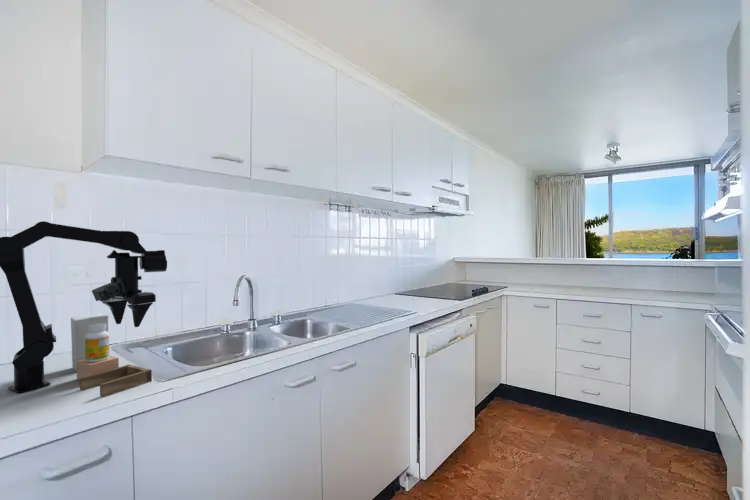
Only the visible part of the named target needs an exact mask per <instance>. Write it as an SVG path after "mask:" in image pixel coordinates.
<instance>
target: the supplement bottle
mask: <svg viewBox="0 0 750 500" xmlns="http://www.w3.org/2000/svg"><path fill="white" fill-rule="evenodd" d="M105 329H106V324H93V325H89V326H88V331H89V333H88V334H86V336H85V360H86V362H98V361H103V360H106V359H108V358H109V356H110V333H108V332H107V331H105Z"/></svg>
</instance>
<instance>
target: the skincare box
mask: <svg viewBox="0 0 750 500" xmlns="http://www.w3.org/2000/svg"><path fill="white" fill-rule="evenodd" d="M93 324H106V329H105V331H107V332H108V333H109V315H107V314H104V313H101V312H100V313H94V314H88V315H87V314H86V315H81V316H73V317H70V330H71V331H70V332H71V333H70V334H71V364H72V366H71V367H72V369H73V370H75V372H77V361H80V360H85V336H86V334H88V333H89V331H88V326H89V325H93ZM109 334H110V333H109Z"/></svg>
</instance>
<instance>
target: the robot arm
mask: <svg viewBox="0 0 750 500" xmlns="http://www.w3.org/2000/svg"><path fill="white" fill-rule="evenodd" d="M44 238H57V239H65V240H69V241H70V240H71V241H78V242H85V243H94V244H100V245H102V246H103V245H104V246H105V247H106V246H107V247H110V248H113V250H111V252H110V253H109V254H108V255H107V256H106V259H114V276H112V277H111V278H110V282H108V283H107V284H104V285H103V284H102V285H101V286H99V287H96V288H94V289H92V290H91V293H92V296H93V298H94V300H95V302H98V301H99V302H100V303H102V304H104V305H105V306H107V307H108V308H109V309H110V311H111V314H112V316H113V319H114V321H115V324H116V325H120V324H122V321H123V318H124V314H125V312H126V311H125V310H126V307H128V308H129V309H131V312H132V321H133V325H134V328H139V327H140V326H141V323H142V322H143V319H144V318H145V316H146V314H147V312H148V311H149V309H150V307H151V306H152V305H153V304H154V303H155V302H157V297H156V296H157V295H156V294H155V293H154V292H152V291H148V292H147V291H144V292H143V290H142V289H139V280H142V276H141V275H139V269H140V270H143V272H144V273H158V272H159V273H161V272H167V268H168V260H167V256H166V251H165V250H164V249H161V250H160V249H159V250H146V248H145V247H143V245H142V244H141V243H140V239H139V238H140V237H139V236H138V234H136V232H133V231H130V230H99V229H92V228H91V229H90V228H85V227H78V226H71V225H64V224H58V223H53V222H49V221H43V220H41V221H39V222H37V223H35V224H34V225H33V226H30V227H28V228H26V229H24V230H22V231H20V232H18V233H15V234H14V235H12V236H0V269H1V271H3V273H4V274H5V277H6V279H7V284H8V285H9V290H10V292H11V294H12V295H11V296H12V298H13V299H12V300H13V301H14V304H15V305H14V306H15V308H16V312H17V314H18V317H19V320H20V323H21V326H22V327H21V328H22V344H23V347H22V348H21V349H19V350H18V351H17V352H16V353H15V354H14V356H13V359H12V365H13V385H10V386H8V387H7V390H9V391H12V392H14V393H18V394H20V393H25V392H28V391H33V390H36V389H39V388H43V387H46V386H50V385H51V382H49V381H46V380H45V361H44V359H45V357H46V358H47V357H48V356H49V355H50V354H51V353H52V352H53V350H54V344H55V343H56V342H57V337H56V335H55V333H54V332H53V325H52V323H50V324H48V325H45V324H44V322H43V321H42V319H41V316H40V313H39V311H38V310H39V309H38V306H37V304H36V303H37V302H36V301H35V297H34V294H33V291H32V288H31V284H30V282H29V279H28V275H27V272H26V260H25V259H26V258H25V257H26V256H25V248H28V247H29V246H31V245H34V243H36V242H39V241H41V240H43V239H44ZM114 249H115V250H114ZM116 249H117V250H120V251H129V252H117V251H116ZM130 252H131V253H133V254H139V255H131V254H130Z"/></svg>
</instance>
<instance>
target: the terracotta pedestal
mask: <svg viewBox="0 0 750 500" xmlns="http://www.w3.org/2000/svg"><path fill="white" fill-rule="evenodd" d="M119 363H120V362H119V357H116V356H111V355H109V358H108V359H106V360H103V361H98V362H86V360H80V361H77V371H76V380H77V381H80V378H82V377H86V376H89V375H93V374H96V373H100V372H104V371H107V370H111V369H115V368H118V367H120V366H119Z"/></svg>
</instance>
